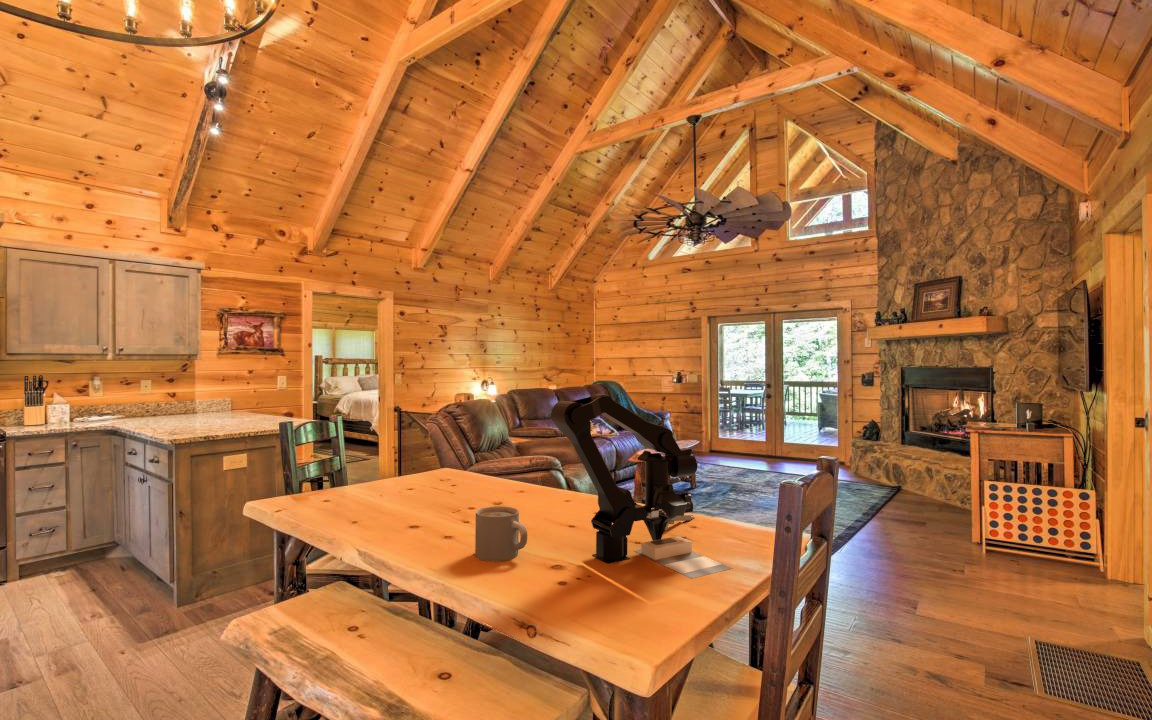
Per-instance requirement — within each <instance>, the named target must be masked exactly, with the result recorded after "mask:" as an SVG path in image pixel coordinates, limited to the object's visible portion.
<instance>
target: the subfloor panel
mask: <svg viewBox="0 0 1152 720" xmlns="http://www.w3.org/2000/svg"><path fill="white" fill-rule="evenodd" d="M633 552H634V553H636V554H638V555H641V556H643V557H645V558H647V559H649V560H650V561H651V560H652V561H654V562H655V563H657V564H660V565H662V566H663V567H666V568H668V569H670V570H672V571H674V572H677V573H678V574H680V575H683V576H685V577H687V578H688V579H696V578H700V577H703V576H707V575H712V574H717V573H721V572H725V571H728V570H729V571H730V570H733V567H731V566H728V565H726V564H723V563H722V562H719V561H718V560H717V561H716V560H714V559H712V558H709V557H707V556H705V555H702V554H700V553H696V552H694V551H692V552H691V553H686V554H681V555H676V556H671V557H667V558H662V559H657V560H654V559H652V558H650V557H648V556H645V555H643V554H641V549H636V550H633Z"/></svg>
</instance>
